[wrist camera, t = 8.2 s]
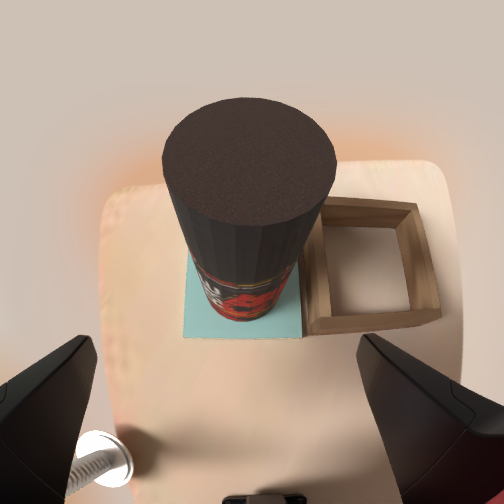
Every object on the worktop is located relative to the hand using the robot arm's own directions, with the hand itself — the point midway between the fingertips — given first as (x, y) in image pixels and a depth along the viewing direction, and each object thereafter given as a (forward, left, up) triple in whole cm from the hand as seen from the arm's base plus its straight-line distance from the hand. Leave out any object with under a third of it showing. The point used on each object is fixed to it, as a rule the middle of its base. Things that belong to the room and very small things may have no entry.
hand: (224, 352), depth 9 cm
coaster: (+7, -1, -14) cm, 15 cm away
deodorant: (+6, -1, -13) cm, 15 cm away
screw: (-9, +10, -14) cm, 19 cm away
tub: (+8, -11, -14) cm, 19 cm away
